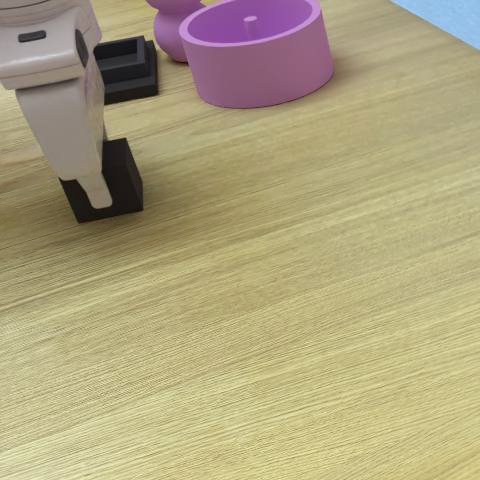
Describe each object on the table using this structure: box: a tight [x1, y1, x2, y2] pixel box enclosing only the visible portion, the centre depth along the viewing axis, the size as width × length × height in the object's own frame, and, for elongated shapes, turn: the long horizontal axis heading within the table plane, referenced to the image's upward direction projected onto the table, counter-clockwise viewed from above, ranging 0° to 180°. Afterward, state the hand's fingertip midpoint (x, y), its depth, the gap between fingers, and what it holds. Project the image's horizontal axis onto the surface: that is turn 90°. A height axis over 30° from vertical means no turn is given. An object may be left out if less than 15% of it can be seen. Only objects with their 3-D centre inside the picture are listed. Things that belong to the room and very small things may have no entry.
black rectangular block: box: [57, 136, 144, 224], centre depth 98 cm, size 6×6×4 cm
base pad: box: [93, 34, 160, 106], centre depth 120 cm, size 10×14×3 cm
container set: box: [144, 0, 335, 109], centre depth 115 cm, size 25×15×13 cm, turn 49°
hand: (104, 181), depth 98 cm, fingers open, 8 cm apart
